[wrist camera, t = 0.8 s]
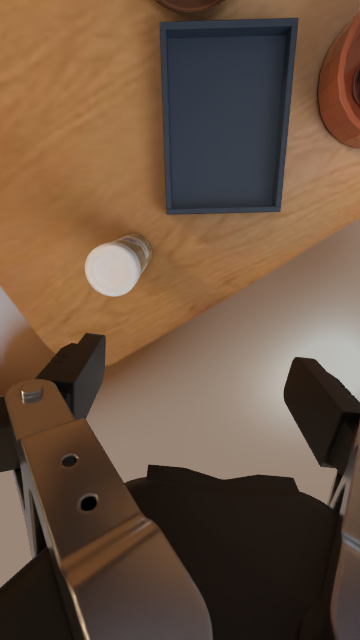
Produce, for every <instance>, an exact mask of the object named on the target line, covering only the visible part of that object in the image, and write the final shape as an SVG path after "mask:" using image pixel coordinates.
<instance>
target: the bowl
mask: <svg viewBox="0 0 360 640" xmlns="http://www.w3.org/2000/svg"><path fill="white" fill-rule="evenodd" d="M359 65H360V10H359V12H358V13H357V14H356V15H355V16H354V17H353V18H352V19H351V20H350V22H349V23H348V24H347V25H346V26H345V27H344V28H343V30H342V31H341V32H340V34H339V35H338V37H337V38H336V40H335V41H334V43H333V44H332V46H331V47H330V48H329V51H328V53H327V56H326V58H325V61H324V64H323V66H322V69H321V73H320V80H319V88H318V99H319V106H320V113H321V116H322V118H323V120H324V123H325V125H326V127H327V129H328V131H329V132H330V133H332V134H333V135H334V136H335V137H336V138H337V139H338V140H339V141H340V142H341V143H344V144H346V145H349V146H352V147H354V148H360V105H359V104H358V103H357V102H356V100H355V97H354V94H353V80H354V76H355V73H356V71H357V69H358V67H359Z"/></svg>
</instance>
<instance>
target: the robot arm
mask: <svg viewBox="0 0 360 640" xmlns="http://www.w3.org/2000/svg"><path fill="white" fill-rule="evenodd" d="M105 345H106V338H105V335H100V334H91V333H86V334H85V335H84V336H83V338H82V339H81V340H80V342H79V343H78V344H75V343H71V344H69V345H67V346H65V347H63V348H61V349H60V350H59V351H58V353H57V354H56V355H55V357H53V358H52V360H51V361H50V362H49V363H48V364H47V366H46V367H45V368H44V369H43V370H42V371H41V372H40V374H39V375H38V376H37V377H36V378H35V379H32V380H26V381H23V382H20V383H17V384H15V385H14V386H12V387H11V388H9V389H8V390H7V392H6V393H5V396H4V397H0V472H4V471H9V470H13V473H14V477H15V481H16V485H17V490H18V494H19V497H20V502H21V506H22V510H23V514H24V518H25V522H26V527H27V533H28V539H29V545H30V550H31V555H32V560H31V561H30V562H29V563H28V564H26V565H25V566H24V567H23V568H22V569H21V570H20V571H19V572H17V573H16V574H15V575H14V576H13V577H12V578H11V579H10V580H9V581H7V582H6V583H5V584H4V585H3V586H2V587H1V588H0V640H360V402H359V401H358V400H357V399H356V398H355V397H354V396H353V395H351V393H350V392H349V391H348V389H347V388H345V386H344V385H343V384H342V383H341V382H340V381H339V380H338V379H337V378H335V377H334V376H332V375H331V374H329V373H328V372H326V371H325V369H324V368H323V367H322V366H321V365H320V364H319V363H318V362H317V361H316V360H315V359H310V358H301V357H295V358H294V360H293V361H292V364H291V368H290V371H289V374H288V377H287V381H286V384H285V387H284V401H285V403H286V405H287V407H288V409H289V411H290V412H291V414H292V416H293V418H294V420H295V421H296V423H297V425H298V427H299V429H300V431H301V432H302V434H303V436H304V438H305V439H306V441H307V443H308V445H309V447H310V448H311V450H312V452H313V454H314V456H315V458H316V460H317V461H318V463H319V465H320V466H321V467H330V468H336V469H337V473H336V475H335V477H334V481H333V484H332V488H331V491H330V495H329V498H328V502H327V505H326V504H325V503H323V502H321V501H320V500H317V499H316V498H314V497H312V496H310V495H307V494H305V493H303V492H299V490H298V488H297V485H296V483H295V481H294V479H293V478H290V477H279V476H268V475H253V476H246V477H240V478H234V479H228V480H222V479H218V478H215V477H212V476H209V475H205V474H202V473H199V472H196V471H193V470H190V469H187V468H180V467H170V466H159V465H148V471H147V477H143V478H138V479H135V480H131V481H128V482H126V483H123V481H122V479H121V477H120V476H119V474H118V472H117V471H116V469H115V467H114V466H113V464H112V462H111V461H110V459H109V457H108V456H107V454H106V453H105V451H104V449H103V447H102V446H101V444H100V442H99V441H98V439H97V437H96V436H95V434H94V432H93V431H92V429H91V427H90V426H89V424H88V422H87V421H86V420H85V419H86V417H87V415H88V413H89V410H90V408H91V406H92V404H93V401H94V399H95V397H96V395H97V393H98V390H99V388H100V386H101V384H102V381H103V377H104V370H105Z"/></svg>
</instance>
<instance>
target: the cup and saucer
mask: <svg viewBox="0 0 360 640" xmlns="http://www.w3.org/2000/svg"><path fill="white" fill-rule="evenodd" d="M156 1H157V2H158V3H159V4H161V5H162V6H164V7H165V8H167V9H169V10H172V11H174V12H177V13H182V14H198V13H203V12H206V11H209V10H211V9H213V8H215V7H216V6H218V5H219V4H221V3H222V2H223V1H225V0H156Z"/></svg>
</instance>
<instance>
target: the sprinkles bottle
mask: <svg viewBox="0 0 360 640" xmlns="http://www.w3.org/2000/svg"><path fill="white" fill-rule="evenodd" d="M151 257H152V249H151V246H150V243H149V242H148V241H147V240H146V239H145V238H144V237H143V236H141V235H138V234H129V235H126V236H124V237H122V238H120V239H117V240H115V241H114V242H108V243H104V244H101V245H99V246H97V247H96V248H94V249H93V250H92V251H91V252H90V254H89V255H88V257H87V259H86V263H85V274H86V277H87V280H88V281H89V283H90V285H91V286H92V287H93V288H94V289H95V290H96V291H98V292H99V293H101V294H103V295H106V296H113V297H114V296H121V295H124V294H126V293H127V292H129V291H130V290H131V289H132V288H133V287H134V286H135V284H136V283H137V281H138V279H139V276H140V275H141V273H142V272H143V270H144V269H145V267H146V266H147V264H148V263H149V262H150V260H151Z"/></svg>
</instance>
